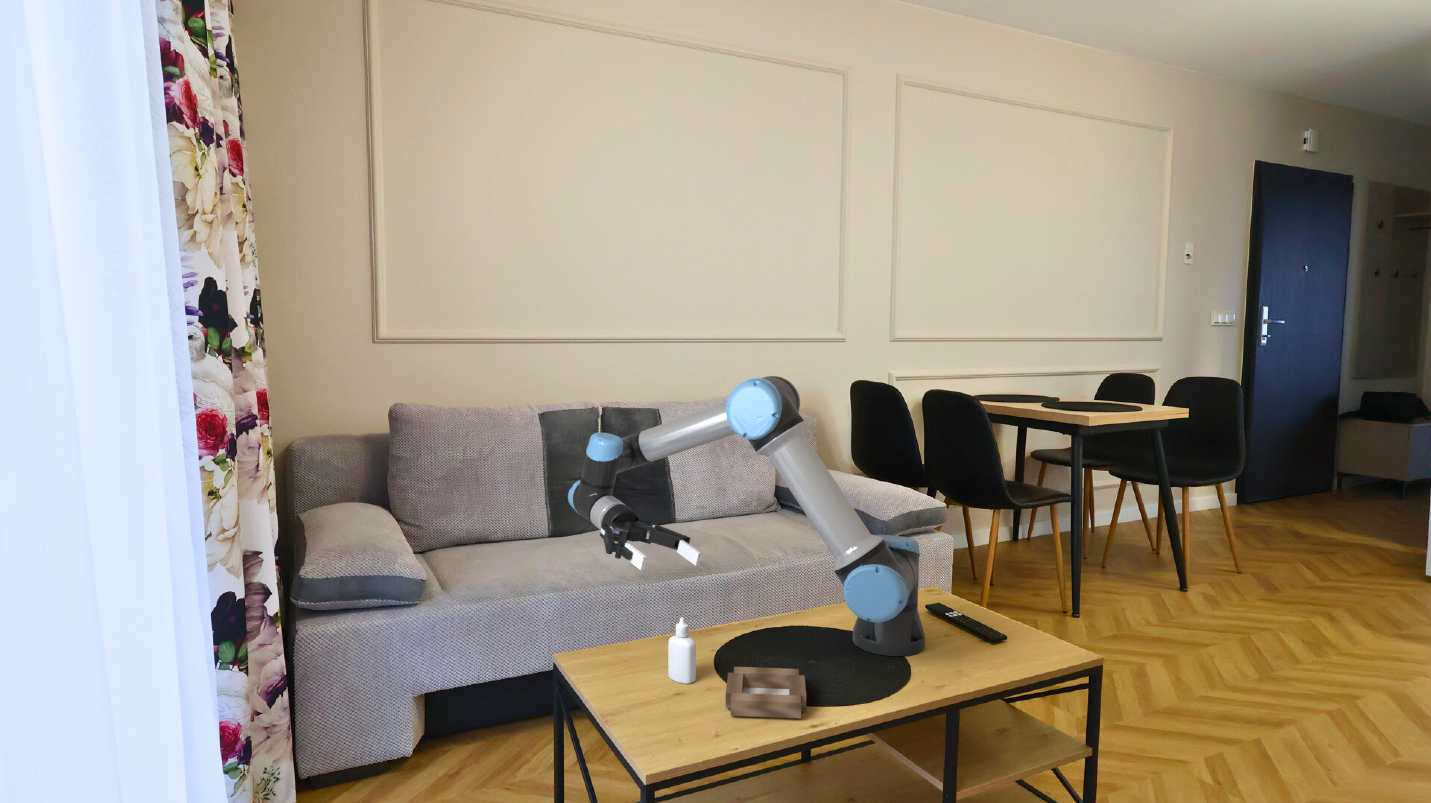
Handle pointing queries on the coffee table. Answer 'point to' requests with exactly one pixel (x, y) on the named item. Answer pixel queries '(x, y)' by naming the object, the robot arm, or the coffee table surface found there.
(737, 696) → the socket block
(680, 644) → the eye dropper bottle
